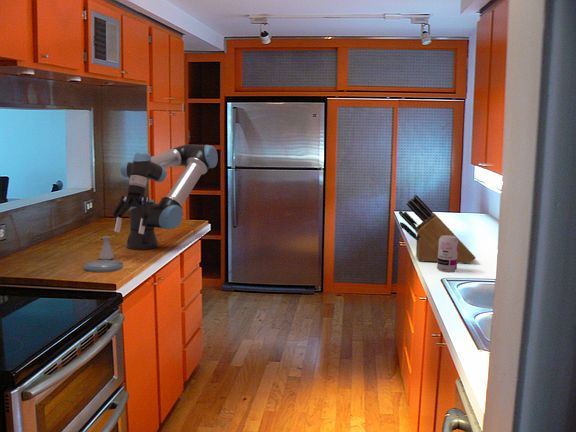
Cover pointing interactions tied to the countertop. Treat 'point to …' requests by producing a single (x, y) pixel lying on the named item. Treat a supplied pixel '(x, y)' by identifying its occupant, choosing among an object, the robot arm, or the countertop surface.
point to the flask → (106, 250)
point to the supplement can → (447, 253)
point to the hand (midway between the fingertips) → (128, 232)
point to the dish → (103, 266)
